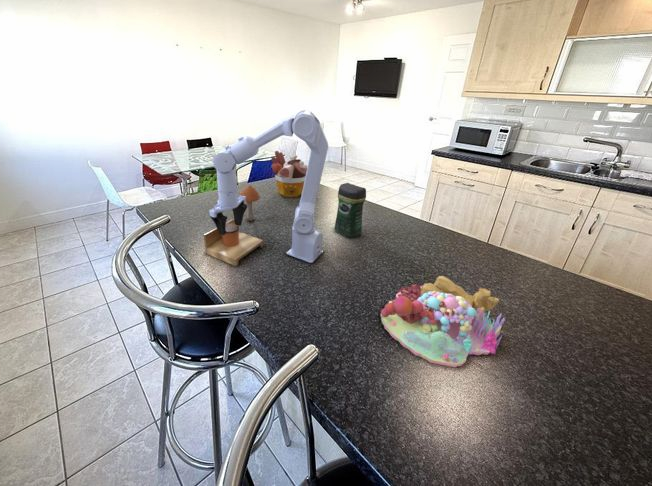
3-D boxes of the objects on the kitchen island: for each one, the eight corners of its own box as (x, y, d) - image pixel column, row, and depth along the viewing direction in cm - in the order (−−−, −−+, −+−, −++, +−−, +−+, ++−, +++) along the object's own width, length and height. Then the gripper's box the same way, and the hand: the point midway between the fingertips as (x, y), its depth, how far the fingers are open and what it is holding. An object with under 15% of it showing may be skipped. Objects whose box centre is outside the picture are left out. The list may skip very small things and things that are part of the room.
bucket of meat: (315, 193, 146) (318, 153, 138) (295, 203, 134) (297, 160, 126) (284, 184, 157) (285, 147, 149) (263, 192, 146) (263, 153, 137)
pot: (230, 236, 101) (229, 221, 98) (243, 241, 98) (242, 226, 96) (218, 243, 96) (217, 228, 94) (231, 248, 93) (230, 233, 91)
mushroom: (250, 227, 112) (249, 190, 106) (236, 221, 117) (234, 185, 110) (264, 219, 118) (264, 184, 112) (250, 214, 122) (248, 180, 116)
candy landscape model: (406, 278, 85) (412, 251, 81) (503, 318, 72) (516, 287, 68) (369, 329, 67) (374, 298, 63) (488, 395, 54) (505, 360, 50)
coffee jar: (364, 233, 109) (371, 186, 102) (351, 240, 105) (357, 191, 97) (343, 224, 116) (349, 179, 108) (330, 230, 111) (335, 183, 103)
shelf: (263, 246, 100) (263, 228, 97) (235, 266, 89) (234, 246, 86) (234, 235, 106) (233, 218, 103) (205, 253, 95) (203, 234, 92)
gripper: (233, 181, 97) (235, 218, 103) (200, 194, 86) (204, 234, 91) (250, 185, 94) (251, 223, 99) (218, 199, 82) (221, 241, 88)
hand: (230, 229), depth 95 cm, fingers open, 7 cm apart
